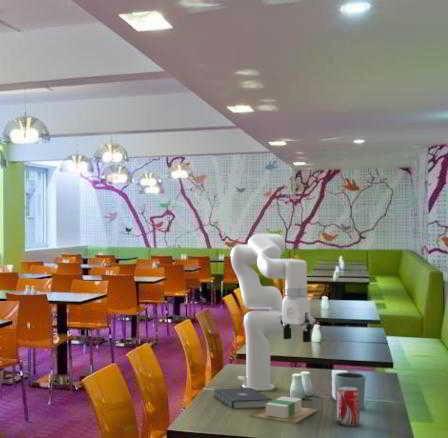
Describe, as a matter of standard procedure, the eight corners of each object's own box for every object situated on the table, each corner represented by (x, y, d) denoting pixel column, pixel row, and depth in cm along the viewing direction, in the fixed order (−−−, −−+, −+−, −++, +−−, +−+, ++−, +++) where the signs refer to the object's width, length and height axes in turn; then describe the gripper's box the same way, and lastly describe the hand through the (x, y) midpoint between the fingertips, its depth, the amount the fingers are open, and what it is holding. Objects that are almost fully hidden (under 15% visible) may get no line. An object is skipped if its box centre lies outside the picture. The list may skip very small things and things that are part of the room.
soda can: (333, 421, 263) (333, 386, 263) (353, 421, 263) (353, 385, 264) (342, 427, 256) (342, 390, 256) (363, 426, 256) (363, 390, 257)
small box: (350, 402, 292) (350, 374, 292) (335, 401, 293) (335, 373, 293) (347, 397, 300) (347, 370, 300) (331, 396, 301) (331, 369, 301)
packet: (265, 415, 269) (265, 403, 269) (282, 407, 282) (282, 396, 282) (285, 418, 265) (285, 406, 265) (301, 410, 277) (301, 398, 277)
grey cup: (365, 405, 286) (364, 373, 286) (366, 412, 276) (366, 378, 276) (335, 403, 289) (335, 371, 289) (336, 410, 279) (336, 376, 279)
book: (214, 396, 301) (213, 389, 301) (251, 395, 302) (251, 387, 302) (232, 409, 279) (232, 400, 280) (272, 407, 281) (271, 399, 281)
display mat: (250, 416, 270) (250, 415, 270) (274, 404, 287) (274, 403, 287) (296, 423, 260) (296, 422, 260) (317, 411, 278) (317, 409, 278)
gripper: (271, 292, 290) (272, 338, 289) (306, 295, 274) (306, 343, 273) (287, 291, 293) (287, 337, 292) (321, 294, 277) (322, 342, 277)
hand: (296, 340), depth 283 cm, fingers open, 9 cm apart
